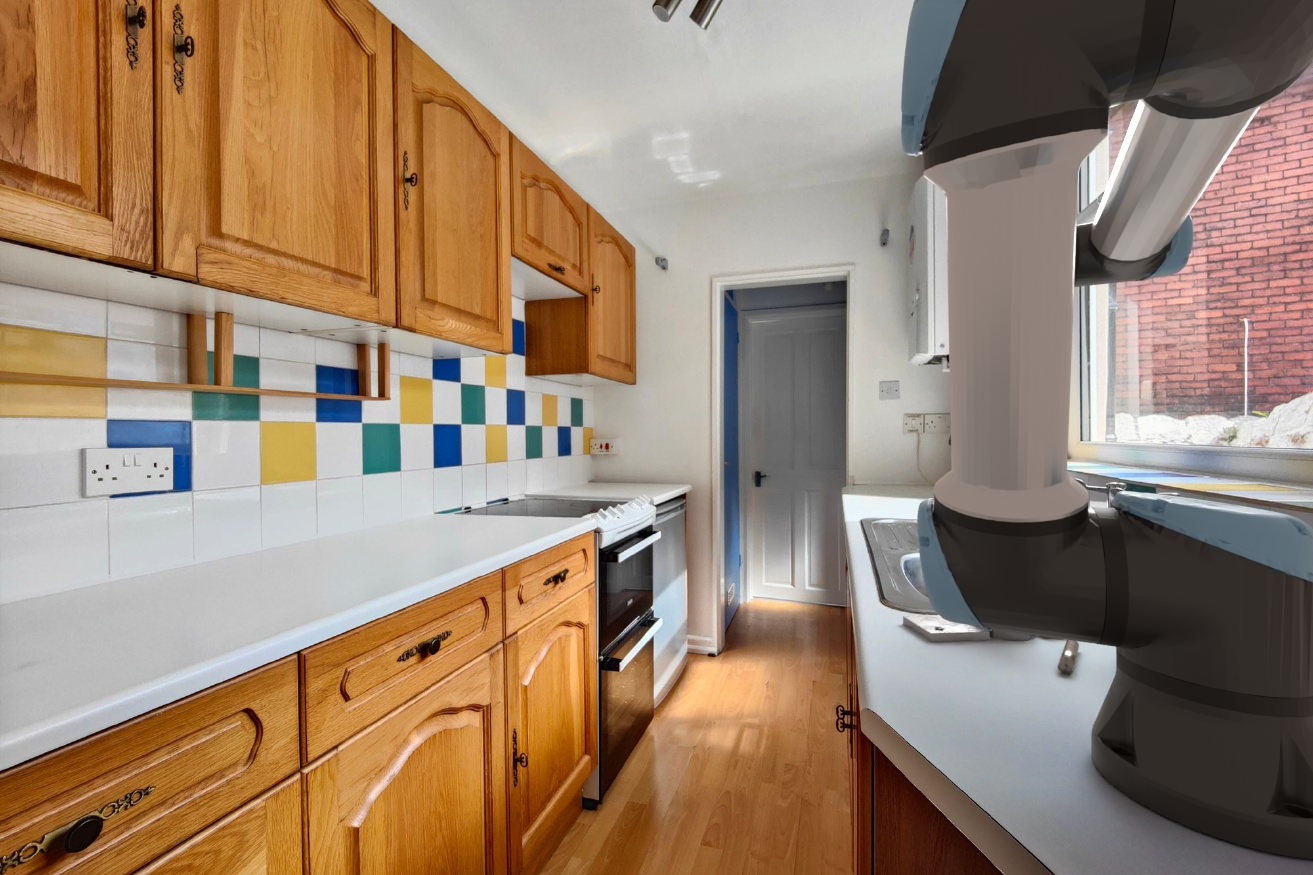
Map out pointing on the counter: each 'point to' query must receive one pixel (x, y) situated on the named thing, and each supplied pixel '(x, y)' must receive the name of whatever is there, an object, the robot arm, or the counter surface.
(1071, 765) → the counter surface
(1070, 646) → the old pin
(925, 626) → the hinge
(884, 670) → the counter surface
